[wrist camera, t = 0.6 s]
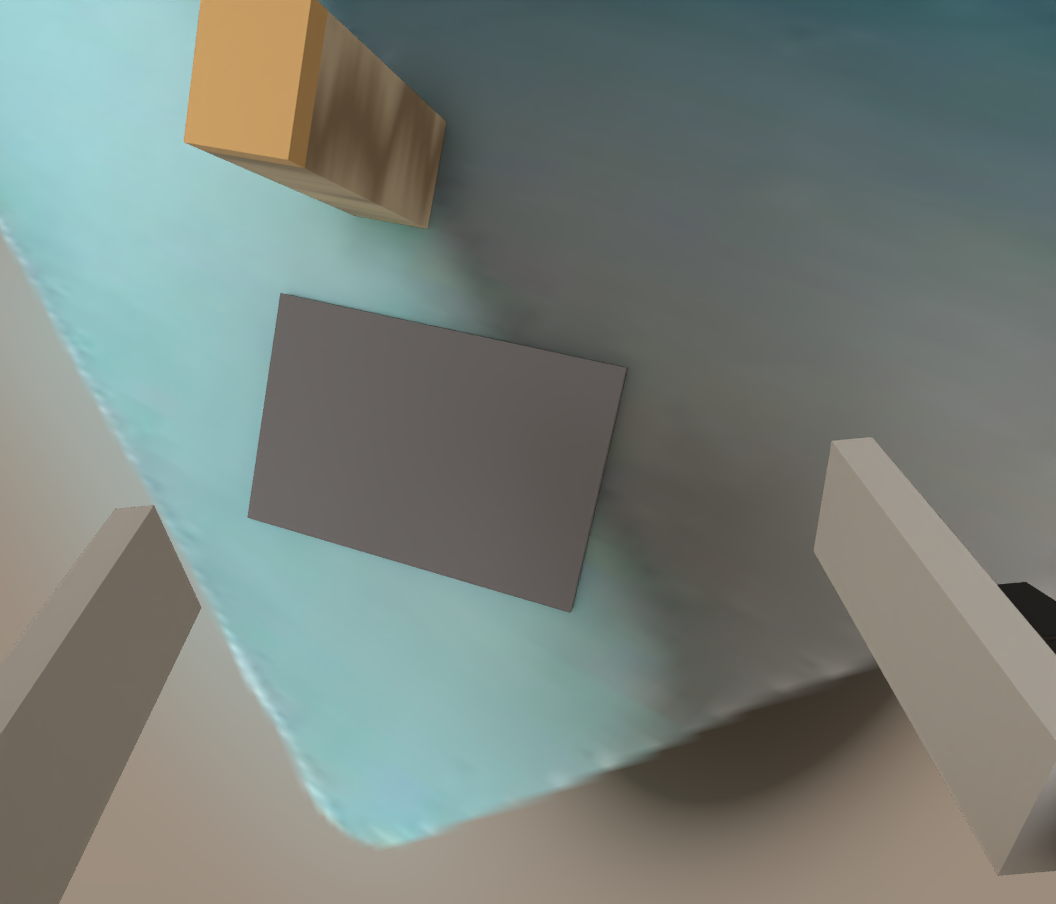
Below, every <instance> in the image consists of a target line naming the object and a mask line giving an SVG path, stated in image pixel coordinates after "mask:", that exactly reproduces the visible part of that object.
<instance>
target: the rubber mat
mask: <svg viewBox="0 0 1056 904" xmlns="http://www.w3.org/2000/svg"><path fill="white" fill-rule="evenodd" d="M627 370H628V368H626V367H621V366H616V365H612V364H607V363H602V362H598V361H593V360H589V359H584V358H579V357H575V356H570V355H565V354H561V353H556V352H551V351H547V350H542V349H538V348H533V347H528V346H524V345H519V344H514V343H510V342H505V341H501V340H496V339H491V338H487V337H482V336H477V335H473V334H468V333H463V332H459V331H454V330H450V329H445V328H440V327H436V326H431V325H426V324H422V323H417V322H412V321H408V320H403V319H399V318H394V317H389V316H385V315H380V314H375V313H371V312H366V311H361V310H357V309H352V308H348V307H343V306H338V305H334V304H329V303H324V302H320V301H315V300H310V299H306V298H301V297H297V296H292V295H287V294H282V293H280V300H279V307H278V314H277V321H276V327H275V334H274V341H273V348H272V355H271V361H270V368H269V375H268V382H267V389H266V395H265V402H264V409H263V416H262V423H261V430H260V436H259V443H258V450H257V457H256V464H255V470H254V477H253V484H252V491H251V498H250V504H249V511H248V518H251V519H254V520H257V521H261V522H264V523H268V524H271V525H274V526H278V527H281V528H285V529H288V530H291V531H295V532H298V533H302V534H305V535H308V536H312V537H315V538H319V539H322V540H325V541H329V542H332V543H335V544H339V545H342V546H346V547H349V548H352V549H356V550H359V551H363V552H366V553H369V554H373V555H376V556H380V557H383V558H386V559H390V560H393V561H396V562H400V563H403V564H407V565H410V566H413V567H417V568H420V569H424V570H427V571H430V572H434V573H437V574H441V575H444V576H447V577H451V578H454V579H458V580H461V581H464V582H468V583H471V584H474V585H478V586H481V587H485V588H488V589H491V590H495V591H498V592H502V593H505V594H508V595H512V596H515V597H519V598H522V599H525V600H529V601H532V602H535V603H539V604H542V605H546V606H549V607H552V608H556V609H559V610H563V611H566V612H569V613H570V612H571V611H572V609H573V605H574V600H575V596H576V592H577V587H578V583H579V579H580V574H581V570H582V566H583V561H584V557H585V553H586V548H587V544H588V540H589V535H590V531H591V526H592V522H593V518H594V513H595V509H596V505H597V500H598V496H599V492H600V487H601V483H602V479H603V474H604V470H605V466H606V461H607V457H608V452H609V448H610V444H611V439H612V435H613V431H614V426H615V422H616V418H617V413H618V409H619V405H620V400H621V396H622V392H623V387H624V383H625V378H626V374H627Z"/></svg>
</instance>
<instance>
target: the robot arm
mask: <svg viewBox="0 0 1056 904" xmlns="http://www.w3.org/2000/svg"><path fill="white" fill-rule="evenodd" d="M814 553H815V554H816V556H817V558H818V560H819V562H820V563H821V565H822V567H823V569H824V570H825V572H826V574H827V576H828V577H829V579H830V581H831V583H832V584H833V586H834V588H835V590H836V591H837V593H838V595H839V597H840V599H841V600H842V602H843V604H844V606H845V607H846V609H847V611H848V613H849V614H850V616H851V618H852V620H853V621H854V623H855V625H856V627H857V628H858V630H859V632H860V634H861V636H862V637H863V639H864V641H865V643H866V644H867V646H868V648H869V650H870V651H871V653H872V655H873V657H874V658H875V660H876V662H877V664H878V665H879V667H880V669H881V671H882V673H883V674H884V676H885V678H886V679H887V681H888V683H889V685H890V686H891V688H892V690H893V692H894V693H895V695H896V697H897V699H898V701H899V702H900V704H901V706H902V708H903V709H904V711H905V713H906V715H907V716H908V718H909V720H910V722H911V724H912V725H913V727H914V729H915V731H916V732H917V734H918V736H919V738H920V739H921V741H922V743H923V745H924V746H925V748H926V750H927V752H928V753H929V755H930V757H931V758H932V761H933V762H934V764H935V766H936V768H937V769H938V771H939V773H940V774H941V776H942V778H943V780H944V782H945V783H946V785H947V787H948V789H949V790H950V792H951V794H952V796H953V798H954V799H955V801H956V803H957V805H958V806H959V808H960V810H961V812H962V813H963V815H964V817H965V819H966V820H967V822H968V824H969V826H970V828H971V829H972V831H973V833H974V835H975V836H976V838H977V840H978V841H979V843H980V845H981V847H982V849H983V850H984V852H985V854H986V856H987V857H988V859H989V861H990V863H991V864H992V866H993V868H994V870H995V871H996V873H997V875H998V876H999V875H1010V874H1022V873H1034V872H1045V871H1056V601H1055V600H1053V599H1052V598H1050V597H1049V596H1047V595H1045V594H1044V593H1042V592H1041V591H1039V590H1038V589H1036V588H1034V587H1033V586H1031V585H1030V584H1028V583H1027V582H1021V583H1010V584H999V585H996V583H995V582H994V581H993V580H992V579H991V577H990V576H989V575H988V574H987V573H986V572H985V570H984V569H983V568H982V567H981V566H980V564H979V563H978V562H977V561H976V560H975V559H974V557H973V556H972V555H971V554H970V553H969V551H968V550H967V549H966V548H965V547H964V546H963V544H962V543H961V542H960V541H959V540H958V538H957V537H956V536H955V535H954V534H953V533H952V531H951V530H950V529H949V528H948V527H947V525H946V524H945V523H944V522H943V521H942V519H941V518H940V517H939V516H938V515H937V514H936V512H935V511H934V510H933V509H932V508H931V506H930V505H929V504H928V503H927V502H926V501H925V499H924V498H923V497H922V496H921V495H920V493H919V492H918V491H917V490H916V489H915V488H914V486H913V485H912V484H911V483H910V482H909V480H908V479H907V478H906V477H905V476H904V475H903V473H902V472H901V471H900V470H899V469H898V467H897V466H896V465H895V464H894V463H893V461H892V460H891V459H890V458H889V457H888V456H887V454H886V453H885V452H884V451H883V450H882V448H881V447H880V446H879V445H878V444H877V443H876V441H875V440H874V439H873V438H872V437H867V438H857V439H846V440H836V441H831V448H830V454H829V460H828V466H827V472H826V478H825V484H824V490H823V496H822V502H821V509H820V515H819V521H818V527H817V533H816V539H815V545H814ZM200 609H201V606H200V604H199V601H198V599H197V597H196V595H195V593H194V591H193V588H192V586H191V584H190V582H189V580H188V578H187V575H186V573H185V571H184V569H183V567H182V565H181V562H180V560H179V558H178V556H177V554H176V552H175V550H174V547H173V545H172V543H171V541H170V539H169V537H168V534H167V532H166V530H165V528H164V526H163V524H162V522H161V519H160V517H159V515H158V513H157V511H156V509H155V506H154V505H151V506H140V507H130V508H120V509H115V510H114V511H113V512H112V514H111V515H110V516H109V518H108V519H107V520H106V522H105V523H104V525H103V526H102V527H101V529H100V530H99V531H98V533H97V534H96V535H95V537H94V538H93V540H92V541H91V542H90V543H89V545H88V546H87V547H86V549H85V550H84V552H83V553H82V554H81V556H80V557H79V558H78V560H77V561H76V562H75V564H74V565H73V567H72V568H71V569H70V570H69V572H68V573H67V575H66V576H65V577H64V578H63V580H62V581H61V583H60V584H59V585H58V587H57V588H56V589H55V591H54V592H53V594H52V595H51V596H50V597H49V599H48V600H47V601H46V603H45V604H44V606H43V607H42V608H41V610H40V611H39V612H38V614H37V615H36V616H35V618H34V619H33V620H32V622H31V623H30V624H29V626H28V627H27V629H26V630H25V631H24V633H23V634H22V635H21V637H20V638H19V639H18V641H17V642H16V643H15V645H14V646H13V647H12V649H11V650H10V651H9V653H8V654H7V655H6V657H5V658H4V660H3V661H2V662H1V664H0V904H59V903H60V900H61V898H62V896H63V894H64V892H65V890H66V888H67V886H68V884H69V882H70V880H71V878H72V876H73V873H74V871H75V869H76V867H77V865H78V863H79V861H80V859H81V857H82V855H83V853H84V851H85V848H86V846H87V844H88V842H89V840H90V838H91V836H92V834H93V832H94V830H95V828H96V825H97V824H98V821H99V819H100V817H101V815H102V813H103V811H104V809H105V806H106V805H107V803H108V801H109V798H110V797H111V794H112V792H113V790H114V788H115V786H116V784H117V782H118V780H119V778H120V776H121V773H122V771H123V769H124V767H125V765H126V763H127V761H128V759H129V757H130V755H131V753H132V751H133V749H134V746H135V745H136V742H137V740H138V738H139V736H140V734H141V732H142V730H143V728H144V726H145V724H146V722H147V720H148V717H149V715H150V713H151V711H152V709H153V707H154V705H155V703H156V701H157V699H158V697H159V695H160V692H161V690H162V688H163V686H164V684H165V682H166V680H167V678H168V676H169V674H170V672H171V670H172V668H173V666H174V663H175V661H176V659H177V657H178V655H179V653H180V651H181V649H182V647H183V645H184V643H185V641H186V639H187V636H188V634H189V632H190V630H191V628H192V626H193V624H194V622H195V620H196V618H197V616H198V614H199V611H200Z"/></svg>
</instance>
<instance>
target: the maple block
mask: <svg viewBox="0 0 1056 904" xmlns="http://www.w3.org/2000/svg"><path fill="white" fill-rule="evenodd" d="M446 123H447V122H446V121H445V120H444V119H443V118H442V117H441V116H440V115H439V114H438V113H436V112H435V111H434V110H433V109H432V108H431V107H430V106H429V105H428V104H427V103H426V102H425V101H424V100H423V99H422V98H420V97H419V96H418V95H417V94H416V93H415V92H414V91H413V90H412V89H411V88H410V87H409V86H408V85H407V84H406V83H405V82H403V81H402V80H401V79H400V78H399V77H398V76H397V75H396V74H395V73H394V72H393V71H392V70H391V69H390V68H389V67H387V66H386V65H385V64H384V63H383V62H382V61H381V60H380V59H379V58H378V57H377V56H376V55H375V54H374V53H373V52H372V51H370V50H369V49H368V48H367V47H366V46H365V45H364V44H363V43H362V42H361V41H360V40H359V39H358V38H357V37H356V36H354V35H353V34H352V33H351V32H350V31H349V30H348V29H347V28H346V27H345V26H344V25H343V24H342V23H341V22H340V21H339V20H337V19H336V18H335V17H334V16H333V15H332V14H331V13H330V12H329V11H328V10H327V9H326V8H325V7H324V6H323V5H321V4H320V3H319V2H318V1H317V0H201V3H200V12H199V20H198V28H197V36H196V45H195V53H194V61H193V70H192V78H191V86H190V94H189V103H188V111H187V119H186V128H185V136H184V142H185V143H187V144H189V145H192V146H194V147H196V148H199V149H201V150H203V151H205V152H208V153H210V154H212V155H215V156H217V157H219V158H222V159H224V160H226V161H229V162H231V163H233V164H236V165H238V166H240V167H243V168H245V169H247V170H250V171H252V172H254V173H257V174H259V175H261V176H263V177H266V178H268V179H270V180H273V181H275V182H277V183H280V184H282V185H284V186H287V187H289V188H291V189H294V190H296V191H298V192H301V193H303V194H305V195H308V196H310V197H312V198H314V199H317V200H319V201H321V202H324V203H326V204H328V205H331V206H333V207H335V208H338V209H340V210H342V211H345V212H347V213H349V214H352V215H354V216H359V217H365V218H370V219H376V220H381V221H387V222H392V223H397V224H403V225H408V226H414V227H419V228H424V229H428V224H429V218H430V213H431V207H432V202H433V196H434V190H435V185H436V179H437V173H438V168H439V162H440V157H441V151H442V145H443V140H444V134H445V128H446Z"/></svg>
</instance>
